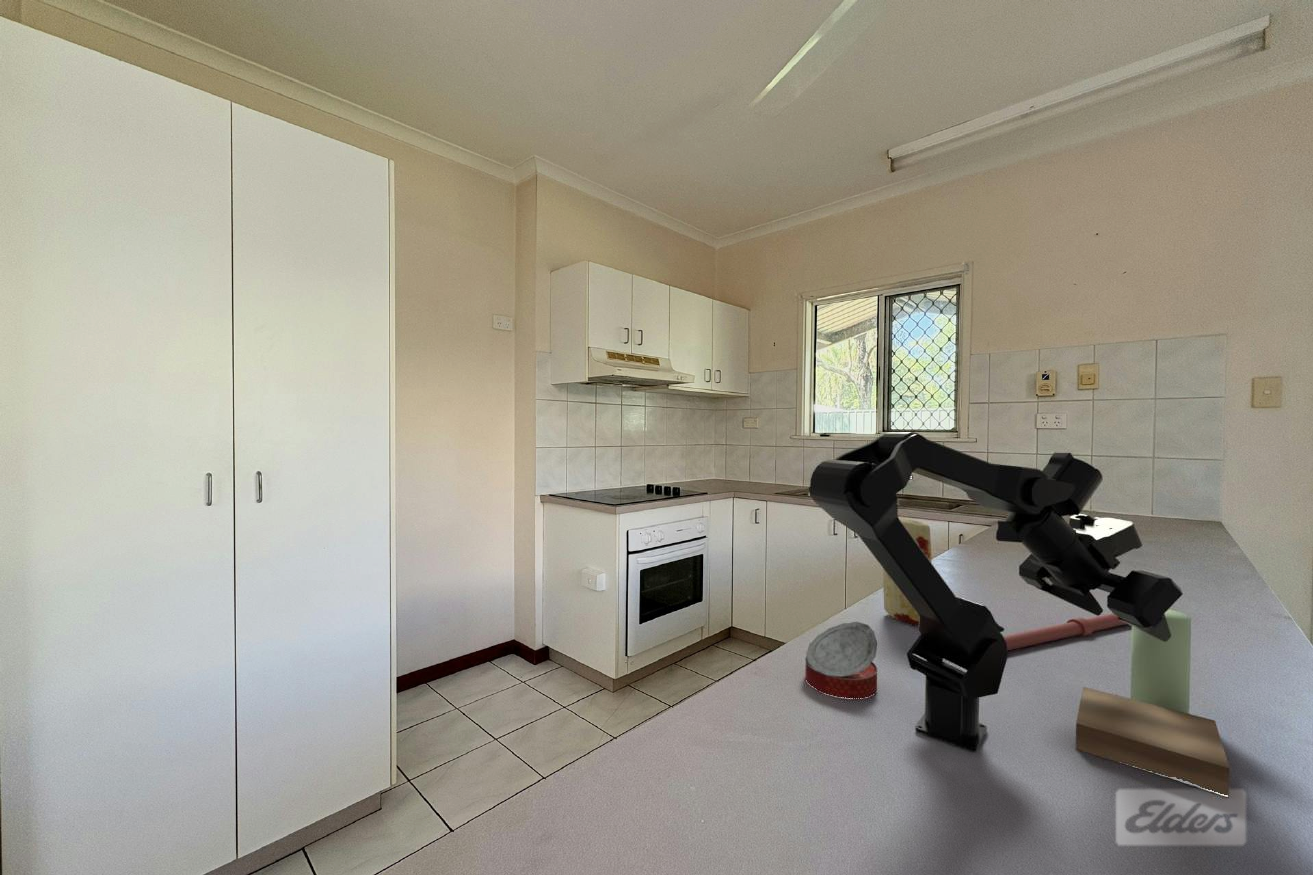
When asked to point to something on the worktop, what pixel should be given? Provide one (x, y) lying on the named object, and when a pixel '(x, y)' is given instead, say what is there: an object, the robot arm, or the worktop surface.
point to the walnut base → (1152, 739)
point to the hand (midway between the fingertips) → (1131, 625)
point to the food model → (893, 596)
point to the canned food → (843, 661)
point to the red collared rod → (1062, 631)
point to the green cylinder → (1163, 665)
